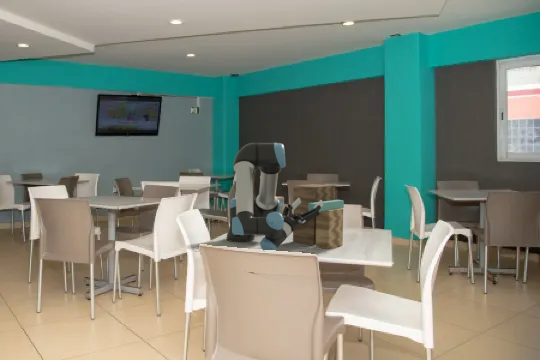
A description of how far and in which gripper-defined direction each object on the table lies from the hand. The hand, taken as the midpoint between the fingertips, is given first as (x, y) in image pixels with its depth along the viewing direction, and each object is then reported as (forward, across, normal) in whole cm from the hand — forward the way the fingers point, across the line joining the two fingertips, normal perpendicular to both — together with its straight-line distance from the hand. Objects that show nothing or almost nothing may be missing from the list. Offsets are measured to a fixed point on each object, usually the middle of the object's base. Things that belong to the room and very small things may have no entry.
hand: (310, 201), depth 234 cm
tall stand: (+6, -14, -32) cm, 35 cm away
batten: (+8, 0, -11) cm, 14 cm away
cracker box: (+10, -49, -34) cm, 60 cm away
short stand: (+1, 0, -29) cm, 29 cm away
